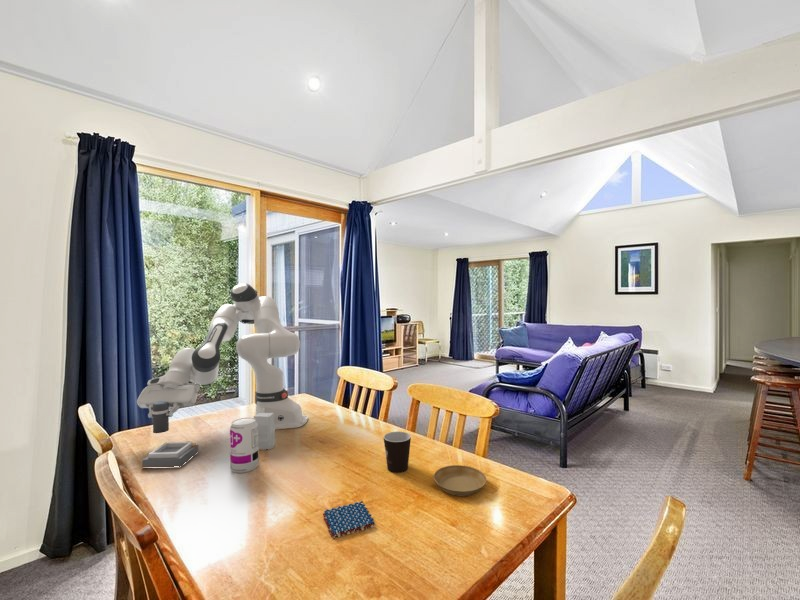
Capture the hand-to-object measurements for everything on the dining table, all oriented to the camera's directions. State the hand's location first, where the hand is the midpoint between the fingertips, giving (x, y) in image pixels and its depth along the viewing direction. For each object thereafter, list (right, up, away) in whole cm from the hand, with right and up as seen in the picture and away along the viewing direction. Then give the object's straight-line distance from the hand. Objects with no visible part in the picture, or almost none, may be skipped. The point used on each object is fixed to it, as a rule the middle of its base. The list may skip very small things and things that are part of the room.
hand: (159, 416), depth 135 cm
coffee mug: (+87, -10, -17) cm, 89 cm away
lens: (0, -5, +1) cm, 5 cm away
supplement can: (+38, -11, -17) cm, 43 cm away
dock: (+11, -11, -10) cm, 19 cm away
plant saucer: (+104, -11, -30) cm, 109 cm away
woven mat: (+75, -12, -46) cm, 88 cm away
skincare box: (+38, -11, -1) cm, 40 cm away
